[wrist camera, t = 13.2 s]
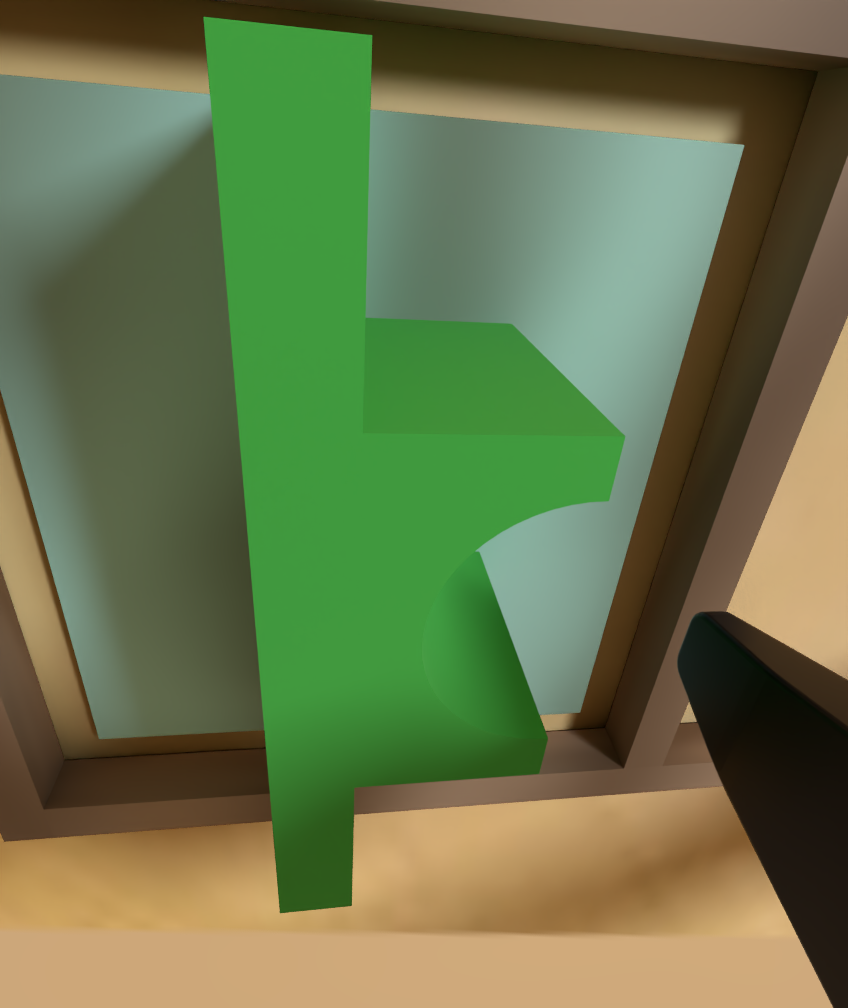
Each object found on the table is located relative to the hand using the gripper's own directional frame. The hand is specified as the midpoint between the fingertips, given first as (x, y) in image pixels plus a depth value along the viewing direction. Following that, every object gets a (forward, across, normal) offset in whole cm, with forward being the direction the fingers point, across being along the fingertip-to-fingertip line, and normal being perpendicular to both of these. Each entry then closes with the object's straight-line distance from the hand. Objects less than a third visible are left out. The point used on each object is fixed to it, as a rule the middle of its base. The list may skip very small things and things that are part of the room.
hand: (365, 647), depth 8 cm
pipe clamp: (+4, 0, -1) cm, 4 cm away
